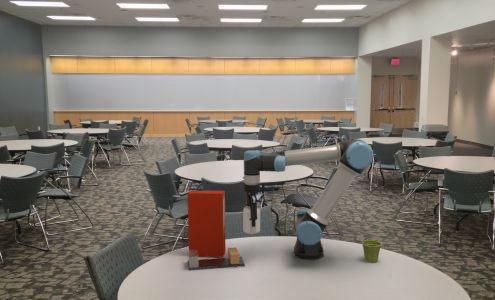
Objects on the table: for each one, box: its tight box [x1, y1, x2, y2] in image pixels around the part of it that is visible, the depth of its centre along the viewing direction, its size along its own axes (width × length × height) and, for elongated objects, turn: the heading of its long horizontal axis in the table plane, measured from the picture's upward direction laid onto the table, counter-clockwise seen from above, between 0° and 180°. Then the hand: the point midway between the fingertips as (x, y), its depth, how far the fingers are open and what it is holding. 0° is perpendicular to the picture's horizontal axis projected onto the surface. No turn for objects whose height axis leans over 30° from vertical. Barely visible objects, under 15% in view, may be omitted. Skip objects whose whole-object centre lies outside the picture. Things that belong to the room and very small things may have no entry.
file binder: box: [187, 190, 227, 258], centre depth 233 cm, size 8×17×32 cm, turn 84°
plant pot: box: [361, 239, 383, 263], centre depth 224 cm, size 9×9×9 cm
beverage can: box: [242, 205, 261, 235], centre depth 221 cm, size 8×8×12 cm
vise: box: [187, 249, 246, 271], centre depth 220 cm, size 26×10×6 cm, turn 100°
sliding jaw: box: [227, 246, 240, 264], centre depth 222 cm, size 4×10×5 cm, turn 10°
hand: (251, 230), depth 222 cm, fingers closed on beverage can, 8 cm apart
